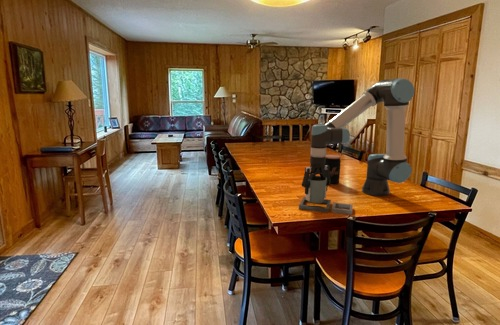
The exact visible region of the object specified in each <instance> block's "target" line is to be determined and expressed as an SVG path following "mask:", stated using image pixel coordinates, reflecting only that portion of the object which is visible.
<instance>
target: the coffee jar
mask: <svg viewBox="0 0 500 325" xmlns="http://www.w3.org/2000/svg"><path fill="white" fill-rule="evenodd" d="M325 157H326V161H325V164H324V165H327V166H330V168H329V172H330V179H331V184H329V186H334V185H335V186H336V185H338V184H339V183H340V175H341V164H342V161H341V159H342V156H341V155H338V154H326V156H325ZM323 171H324V170H323ZM324 173H325V171H324ZM324 175H325V174H324Z"/></svg>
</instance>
